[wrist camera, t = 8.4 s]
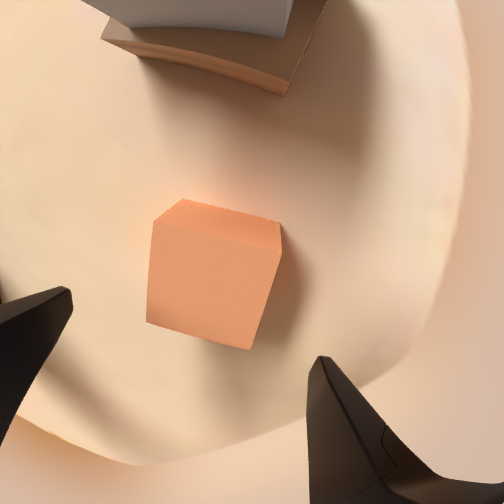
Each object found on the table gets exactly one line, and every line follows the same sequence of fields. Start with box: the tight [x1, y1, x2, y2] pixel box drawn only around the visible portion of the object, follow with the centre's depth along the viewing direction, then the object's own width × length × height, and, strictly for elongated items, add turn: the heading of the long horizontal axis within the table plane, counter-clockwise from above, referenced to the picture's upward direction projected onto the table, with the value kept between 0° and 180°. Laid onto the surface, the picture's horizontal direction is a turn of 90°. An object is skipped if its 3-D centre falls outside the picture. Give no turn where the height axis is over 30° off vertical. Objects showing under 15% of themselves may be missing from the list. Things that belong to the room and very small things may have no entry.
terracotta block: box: [146, 199, 282, 350], centre depth 13 cm, size 5×5×4 cm
